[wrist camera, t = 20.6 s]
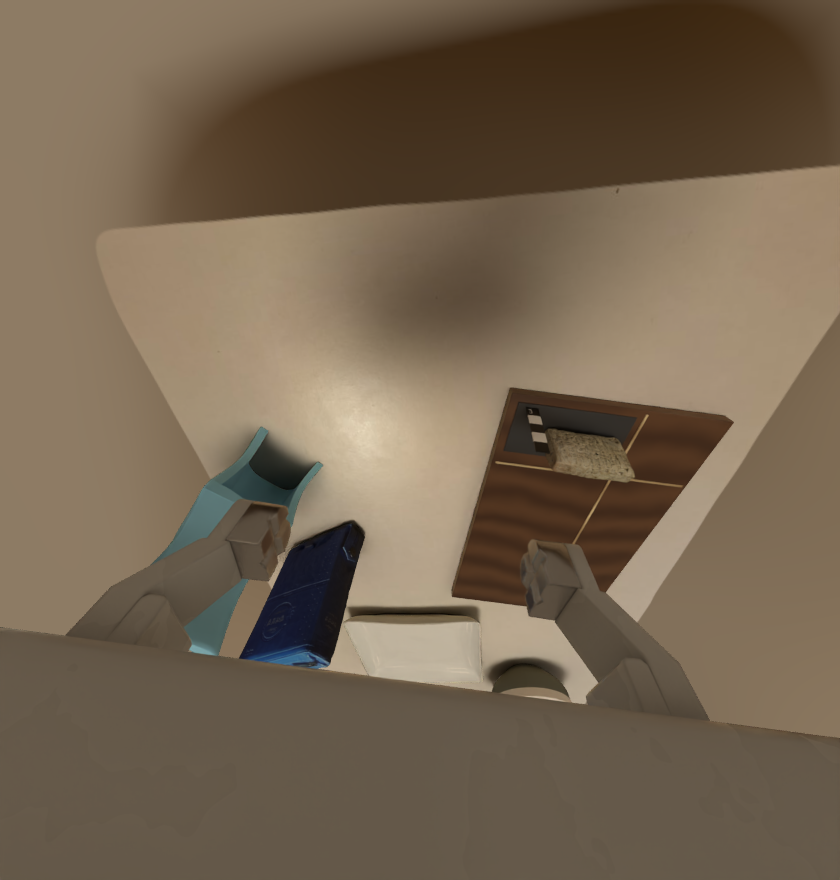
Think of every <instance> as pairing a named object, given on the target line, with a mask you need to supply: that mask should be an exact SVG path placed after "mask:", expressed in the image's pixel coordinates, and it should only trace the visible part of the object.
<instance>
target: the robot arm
mask: <svg viewBox="0 0 840 880" xmlns="http://www.w3.org/2000/svg"><path fill="white" fill-rule="evenodd" d="M288 514H289V513H288V508H287V506H284V505H277V504H271V503H265V502H259V501H252V500H245V499H239V500H237V501H236V502H235V503H234V504H233V505H232V506H231V508H230V509H229V510H228V511H227V513H226V514H225V515H224V517H223V518H222V519H221V520H220V522H219V523H218V524H217V526H216V527H215V528H214V529H213V531H212V532H211V533H210V535H209V536H208V537H207V538H200V539H198V540H197V541H195V542H193V543H191V544H189V545H187V546H185V547H184V548H182V549H180V550H178V551H176V552H174V553H173V554H171V555H169V556H167V557H165V558H163V559H161V560H160V561H158V562H156V563H154V564H152V565H150V566H149V567H147V568H145V569H143V570H141V571H139V572H137V573H136V574H134V575H132V576H130V577H128V578H126V579H124V580H123V581H121V582H119V583H117V584H115V585H113V586H111V587H110V588H109V590H108V591H107V592H106V593H105V594H104V595H103V596H102V597H101V598H100V599H99V600H98V601H97V602H96V603H95V604H94V605H93V607H92V608H91V609H90V610H89V611H88V612H87V613H86V614H85V615H84V616H83V617H82V618H81V619H80V620H79V621H78V623H76V625H75V626H74V627H73V628H72V629H71V630H70V631H69V632H68V633H67V634H66V635H65V636H63V635H56V634H48V633H40V632H33V631H25V630H18V629H10V628H3V627H0V880H840V738H835V737H827V736H819V735H811V734H804V733H796V732H789V731H782V730H774V729H766V728H759V727H751V726H744V725H736V724H729V723H721V722H714V721H710V720H709V718H708V716H707V714H706V712H705V710H704V709H703V707H702V705H701V703H700V701H699V699H698V697H697V696H696V694H695V692H694V690H693V688H692V686H691V684H690V682H689V680H688V679H687V677H686V675H685V673H684V671H683V669H682V667H681V666H680V664H679V662H678V661H677V660H675V659H674V658H673V657H672V656H671V655H670V654H669V653H668V652H667V651H666V650H665V649H664V648H663V647H662V646H661V645H659V643H658V642H657V641H656V640H654V638H652V637H651V636H650V635H649V634H648V633H647V632H646V631H645V630H644V629H643V628H642V627H641V626H640V625H639V624H638V623H637V622H636V621H635V620H634V619H633V618H632V617H630V616H629V615H628V614H627V613H626V612H625V611H624V610H623V609H622V608H621V607H620V606H619V605H618V604H617V603H616V602H615V601H614V600H613V599H612V598H611V597H610V596H609V595H607V594H606V593H605V592H602V591H600V590H599V588H598V585H597V583H596V581H595V578H594V576H593V574H592V571H591V569H590V567H589V564H588V562H587V560H586V557H585V555H584V553H583V550H582V548H581V547H580V546H579V545H575V544H568V543H561V542H553V541H545V540H537V539H532V540H531V541H530V542H529V544H528V550H529V552H527V553H525V554H524V555H523V557H522V559H521V564H520V577H521V582H522V584H523V585H524V586H525V588H526V589H527V592H526V594H525V596H524V597H525V601H526V606H527V610H528V615H529V616H530V617H536V618H543V619H549V620H555V623H556V624H557V626H558V627H559V628H560V630H561V631H562V632H563V634H564V635H565V637H566V638H567V639H568V641H569V642H570V644H571V645H572V646H573V648H574V649H575V651H576V652H577V653H578V655H579V656H580V658H581V659H582V660H583V662H584V663H585V664H586V666H587V667H588V669H589V670H590V671H591V673H592V674H593V676H594V677H595V678H596V680H597V681H598V684H597V685H596V686H595V687H594V688H593V689H592V690H591V691H590V692H589V693H588V694H587V695H586V699H587V703H588V705H585V704H578V703H570V702H563V701H555V700H548V699H540V698H533V697H525V696H518V695H510V694H502V693H495V692H487V691H480V690H472V689H465V688H457V687H450V686H442V685H435V684H427V683H419V682H412V681H404V680H397V679H389V678H382V677H374V676H367V675H359V674H352V673H344V672H336V671H329V670H321V669H314V668H306V667H299V666H291V665H283V664H276V663H268V662H261V661H253V660H246V659H237V658H230V657H223V656H215V655H208V654H200V653H192V652H188V651H189V649H190V647H191V646H192V642H191V639H190V637H189V636H188V634H187V632H186V631H185V629H184V627H185V626H186V625H187V624H188V623H189V622H191V621H192V620H193V619H194V618H196V617H197V616H198V615H199V614H201V613H202V612H203V611H204V610H206V609H207V608H208V607H209V606H210V605H212V604H213V603H214V602H215V601H217V600H218V599H219V598H220V597H222V596H223V595H224V594H225V593H227V592H228V591H229V590H230V589H231V588H233V587H234V586H235V585H236V584H238V583H239V582H240V581H241V580H242V579H252V580H261V581H269V580H270V578H271V576H272V574H273V572H274V570H275V568H276V566H277V564H278V559H277V556H278V555H279V554H281V553H282V552H284V551H285V548H286V546H287V544H288V541H289V538H290V533H291V526H290V522H289V521H288V520H287V519H286V518H287V516H288Z"/></svg>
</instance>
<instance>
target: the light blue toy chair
mask: <svg viewBox="0 0 840 880" xmlns="http://www.w3.org/2000/svg"><path fill="white" fill-rule="evenodd" d="M267 433H268V430H266V429H264V428H263V427H260V429H259V430H258V432H257V434H256V435H255V437H254V438H253V440H252V441H251V443H250V445H249V446H248V448H247V449H246V451H245V452H244V454H243V456H242V457H241V458H240V459H239V460H238V461H237V462H235V463H234V464H233V465H232V466H230V467H229V468H228V469H226V470H225V471H223V472H222V473H220V474H219V475H217V476H216V477H214V478H213V479H211V480H210V481H209V482H208V483H207V484H206V485H205V486H204V487H203V489H202V490H201V492H200V494H199V496H198V498H197V499H196V501H195V503H194V505H193V506H192V508H191V510H190V512H189V513H188V515H187V517H186V518H185V520H184V521H183V523H182V525H181V526H180V528H179V530H178V532H177V533H176V535H175V537H174V539H173V541H172V542H171V543H170V545H169V546H168V547H167V549H166V550H165V551H164V552H163V553H162V554H161V555H160V556H159V557H158V558H157V559H156V560H155V561H154V562H153V563H152V564H154V563H156V562H158V561H160V560H161V559H163V558H165V557H167V556H169V555H171V554H173V553H174V552H176V551H178V550H180V549H182V548H184V547H185V546H187V545H189V544H191V543H193V542H195V541H197V540H198V539H200V538H207V537H208V536H209V535H210V533H211V532H212V531H213V529H214V528H215V527H216V526H217V524H218V523H219V522H220V520H221V519H222V518H223V517H224V515H225V514H226V513H227V511H228V510H229V509H230V508H231V506H232V505H233V504H234V503H235V502H236V501H237V500H239V499H245V500H252V501H259V502H265V503H271V504H277V505H284V506H287V508H288V513H289V514H288V516H287V518H286V519H287V520H288V521H289V522H290V526H291V527H292V525H293V521H294V516H295V512H296V508H297V505H298V502H299V499H300V497H301V495H302V493H303V491H304V489H305V487H306V486H307V484H308V483H309V482H310V481H311V479H312V478H313V477H314V476H315V475H316V473H317V472H318V471H319V470H320V469H321V468H322V466H323V465H322V464H321V463H319V462H317V463H316V464H315V465H314V466H313V467H312V469H311V470H310V471H309V472H308V473H307V475H306V476H305V477H304V478H303V480H302V481H301V482H300V483H299V484H298V486H297V487H296V488H295V489H292V490H284V489H281V488H279V487H277V486H275V485H273V484H272V483H270V482H268V481H266V480H265V479H263V478H261V477H260V476H258V475H257V474H256V473H255V472H254V471H253V470H252V468H251V467H250V465H249V461H250V460H251V458H252V457H253V455H254V454H255V452H256V451H257V449H258V448H259V446H260V445H261V443H262V441H263V440H264V438H265V436H266V434H267ZM152 564H151V565H152ZM248 580H249V579H242V580H241V581H240V582H239V583H238V584H236V585H235V586H234V587H233V588H231V589H230V590H229V591H228V592H227V593H225V594H224V595H223V596H222V597H220V598H219V599H218V600H217V601H215V602H214V603H213V604H212V605H210V606H209V607H208V608H207V609H206V610H204V611H203V612H202V613H201V614H199V615H198V616H197V617H196V618H194V619H193V620H192V621H191V622H189V623H188V624H187V625H186V626H185V627H184V629H185V631H186V632H187V634H188V636H189V637H190V639H191V642H192V646H191V647H190V649H189V650H191V651H192V653H200V654H208V655H215V656H218V655H219V652H220V649H221V645H222V642H223V639H224V636H225V633H226V630H227V627H228V624H229V621H230V619H231V616H232V613H233V611H234V608H235V606H236V604H237V601H238V599H239V597H240V595H241V593H242V591H243V589H244V587H245V585H246V583H247V582H248Z"/></svg>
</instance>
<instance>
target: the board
mask: <svg viewBox="0 0 840 880" xmlns="http://www.w3.org/2000/svg"><path fill="white" fill-rule="evenodd" d="M526 407H530V408H537V409H539V413H540V417H541V420H542V424H543V428H544V432H545V431H546V430H547V429H558V430H563V431H567V432H574V433H580V434H587V435H598V436H601V437H606V438H611V437H613V438H617V439H618V440H619V441H620V442H621V445H622V447H623V449H624V451H625V453H626V455H627V458H628V461H629V462H630V465H631V467H632V468H633V470H634V474H635V478H634V479H631V480H630V481H629V482H619V481H612V480H601V479H592V478H585V477H580V476H577V475H576V476H575V475H571V474H564V473H560V472H554V471H553V470H552V469H551V467H550V465H549V463H548V461H547V459H546V456H545V453H540V452H536V451H535V447H534V442H533V438H532V433H531V429H530V424H529V419H528V415H527V410H526ZM733 423H734V422H733V421H732V420H730V419H729V418H727V417H726V416H721V415H713V414H706V413H698V412H691V411H683V410H675V409H668V408H660V407H653V406H645V405H637V404H630V403H622V402H615V401H607V400H599V399H592V398H584V397H577V396H569V395H562V394H554V393H546V392H539V391H531V390H524V389H516V388H510V390H509V394H508V397H507V401H506V404H505V407H504V411H503V414H502V418H501V421H500V425H499V428H498V432H497V435H496V438H495V442H494V445H493V449H492V452H491V456H490V459H489V463H488V466H487V470H486V473H485V476H484V480H483V483H482V487H481V490H480V494H479V497H478V501H477V504H476V507H475V511H474V514H473V518H472V521H471V525H470V528H469V532H468V535H467V538H466V542H465V545H464V549H463V552H462V556H461V559H460V563H459V566H458V570H457V573H456V576H455V580H454V583H453V587H452V597H457V598H465V599H473V600H481V601H489V602H497V603H504V604H512V605H520V606H526V601H525V597H524V596H525V594H526V592H527V589H526V588H525V586H524V585H523V584H522V582H521V577H520V564H521V559H522V557H523V555H524V554H525V553H527V552H529V550H528V544H529V542H530V541H531V540H532V539H537V540H545V541H553V542H561V543H568V544H575V545H579V546H580V547H581V548H582V550H583V553H584V555H585V557H586V560H587V562H588V564H589V567H590V569H591V571H592V574H593V576H594V578H595V581H596V583H597V585H598V588H599V590H600V591H602V592H606V591H607V590H608V588H609V587H610V586H611V584H612V583H613V582H614V580H615V579H616V578H617V576H618V575H619V574H620V572H621V571H622V570H623V569H624V567H625V566H626V565H627V563H628V562H629V561H630V559H631V558H632V557H633V555H634V554H635V553H636V551H637V550H638V549H639V547H640V546H641V545H642V543H643V542H644V541H645V539H646V538H647V537H648V535H649V534H650V533H651V531H652V530H653V529H654V527H655V526H656V525H657V524H658V522H659V521H660V520H661V518H662V517H663V516H664V514H665V513H666V512H667V510H668V509H669V508H670V506H671V505H672V504H673V502H674V501H675V500H676V498H677V497H678V496H679V494H680V493H681V492H682V490H683V489H684V488H685V486H686V485H687V484H688V483H689V481H690V480H691V479H692V477H693V476H694V475H695V473H696V472H697V471H698V469H699V468H700V467H701V465H702V464H703V463H704V461H705V460H706V459H707V457H708V456H709V455H710V453H711V452H712V451H713V449H714V448H715V447H716V445H717V444H718V443H719V441H720V440H721V439H722V438H723V436H724V435H725V434H726V432H727V431H728V430H729V428H730V427H731V426H732V424H733Z"/></svg>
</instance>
